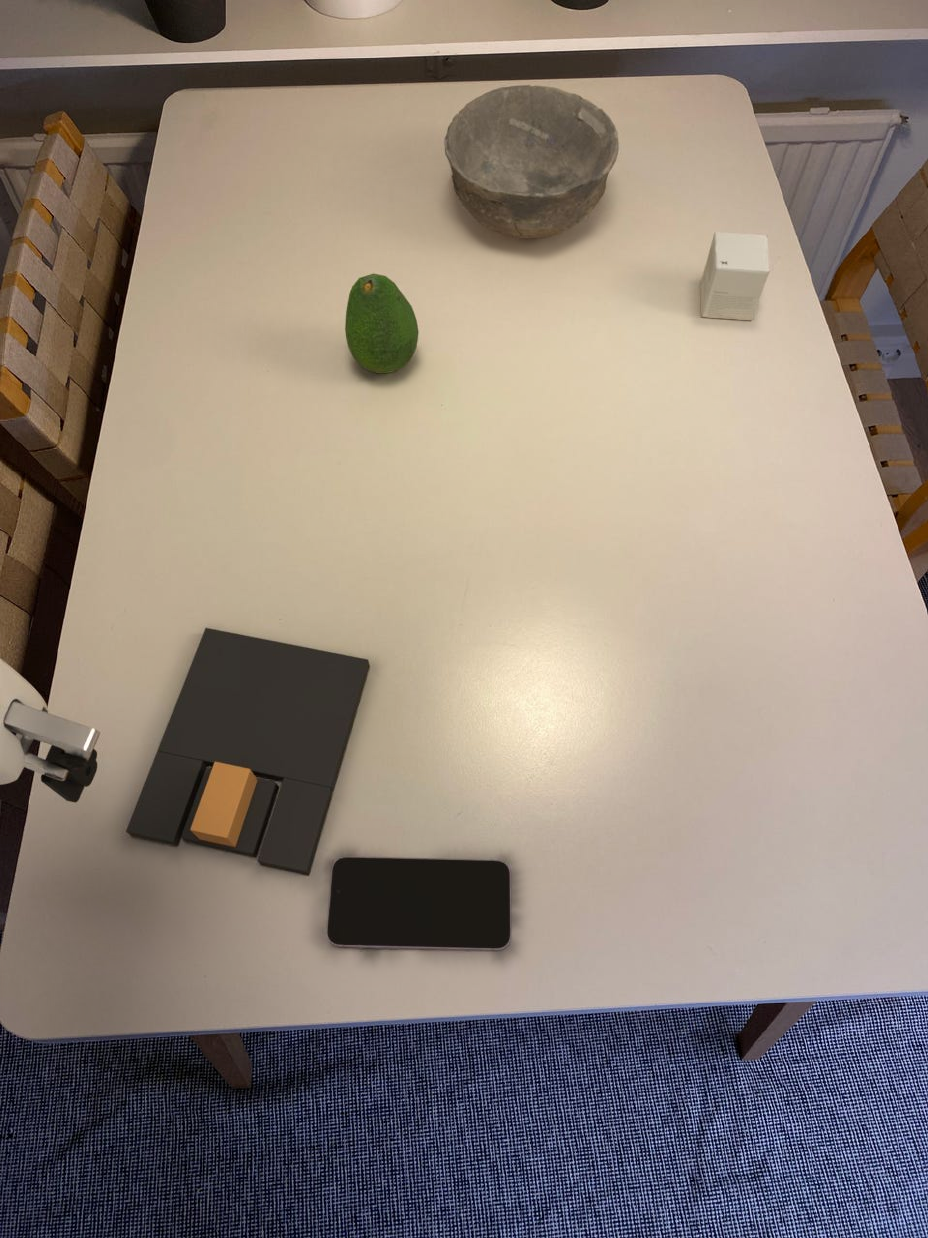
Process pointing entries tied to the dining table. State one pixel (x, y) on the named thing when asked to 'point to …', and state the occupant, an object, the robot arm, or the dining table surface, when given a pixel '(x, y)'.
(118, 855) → the dining table surface
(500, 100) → the bowl
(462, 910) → the smartphone
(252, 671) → the mat
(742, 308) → the product box
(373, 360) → the fruit
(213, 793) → the pad piece
